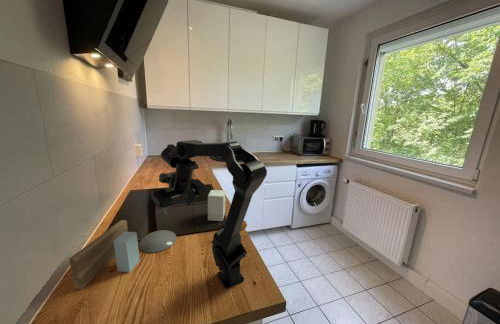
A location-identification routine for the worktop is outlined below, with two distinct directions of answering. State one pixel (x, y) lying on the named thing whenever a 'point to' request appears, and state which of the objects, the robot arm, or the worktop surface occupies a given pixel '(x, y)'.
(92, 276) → the backboard
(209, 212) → the supplement box
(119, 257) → the blue block
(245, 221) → the pastry
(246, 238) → the worktop surface
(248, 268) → the worktop surface
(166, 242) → the saucer
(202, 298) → the worktop surface
